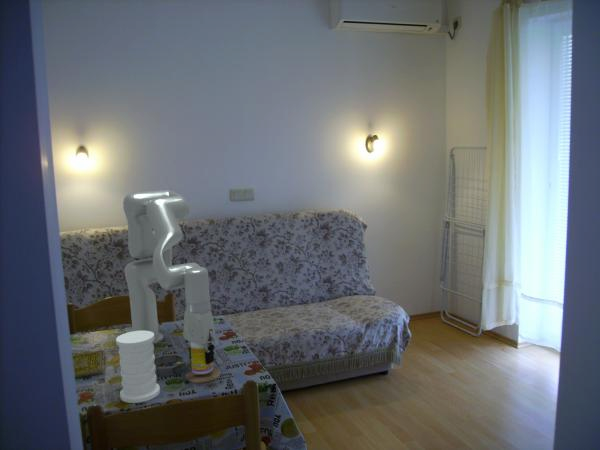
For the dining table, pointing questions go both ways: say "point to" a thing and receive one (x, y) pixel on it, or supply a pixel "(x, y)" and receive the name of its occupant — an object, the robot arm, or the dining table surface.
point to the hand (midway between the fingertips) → (201, 359)
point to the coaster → (203, 376)
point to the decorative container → (137, 366)
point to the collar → (172, 370)
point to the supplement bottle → (199, 359)
